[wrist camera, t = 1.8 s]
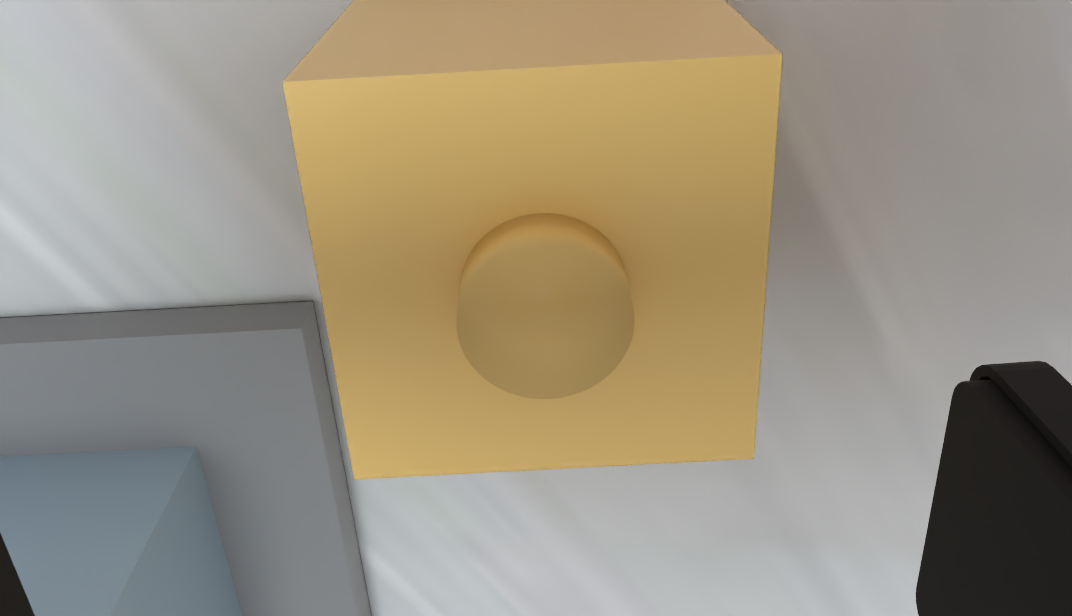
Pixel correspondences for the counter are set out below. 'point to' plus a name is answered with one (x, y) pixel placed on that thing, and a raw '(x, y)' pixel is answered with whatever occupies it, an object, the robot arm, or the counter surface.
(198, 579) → the blue brick
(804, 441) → the counter surface
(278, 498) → the baseplate
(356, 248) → the ochre brick
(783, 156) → the counter surface
